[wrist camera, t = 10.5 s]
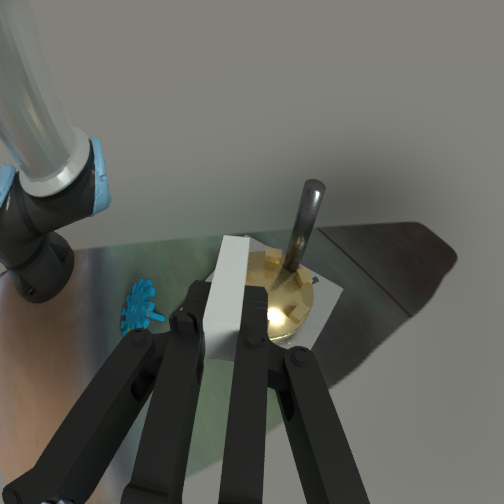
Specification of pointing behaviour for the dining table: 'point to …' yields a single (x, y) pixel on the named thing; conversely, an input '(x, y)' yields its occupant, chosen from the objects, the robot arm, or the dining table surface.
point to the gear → (140, 307)
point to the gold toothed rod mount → (288, 270)
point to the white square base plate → (321, 309)
